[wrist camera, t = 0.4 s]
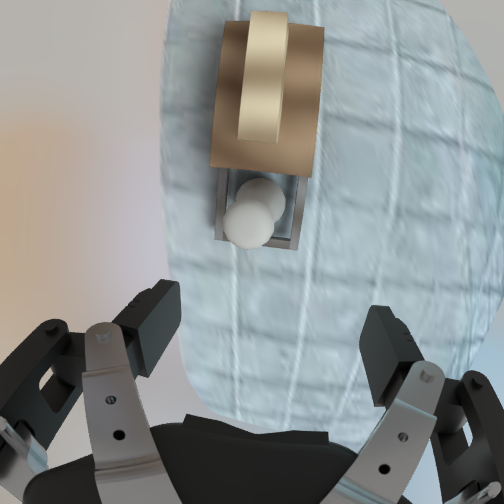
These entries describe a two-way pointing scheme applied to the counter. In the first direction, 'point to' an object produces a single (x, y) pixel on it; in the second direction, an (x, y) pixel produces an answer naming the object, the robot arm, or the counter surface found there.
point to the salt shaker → (254, 213)
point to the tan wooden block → (267, 106)
